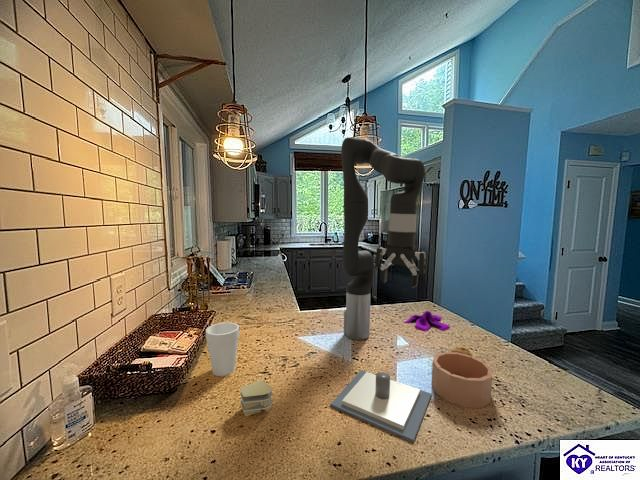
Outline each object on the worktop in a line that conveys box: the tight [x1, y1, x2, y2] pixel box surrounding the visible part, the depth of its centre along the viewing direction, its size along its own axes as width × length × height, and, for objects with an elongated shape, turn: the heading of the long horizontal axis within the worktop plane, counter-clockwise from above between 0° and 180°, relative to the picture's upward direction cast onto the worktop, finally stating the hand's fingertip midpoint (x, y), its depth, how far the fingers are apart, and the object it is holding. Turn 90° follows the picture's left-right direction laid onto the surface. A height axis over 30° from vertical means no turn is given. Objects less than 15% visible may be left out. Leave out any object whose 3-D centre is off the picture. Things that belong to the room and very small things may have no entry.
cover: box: [342, 371, 421, 430], centre depth 70 cm, size 15×15×6 cm
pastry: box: [450, 346, 473, 356], centre depth 89 cm, size 9×7×4 cm
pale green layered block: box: [239, 380, 274, 418], centre depth 67 cm, size 10×9×6 cm
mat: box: [329, 369, 432, 443], centre depth 71 cm, size 20×18×1 cm
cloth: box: [404, 310, 451, 332], centre depth 122 cm, size 22×19×6 cm
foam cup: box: [205, 322, 240, 377], centre depth 83 cm, size 10×9×13 cm
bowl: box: [431, 351, 493, 409], centre depth 75 cm, size 14×14×7 cm
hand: (398, 284), depth 82 cm, fingers open, 8 cm apart
